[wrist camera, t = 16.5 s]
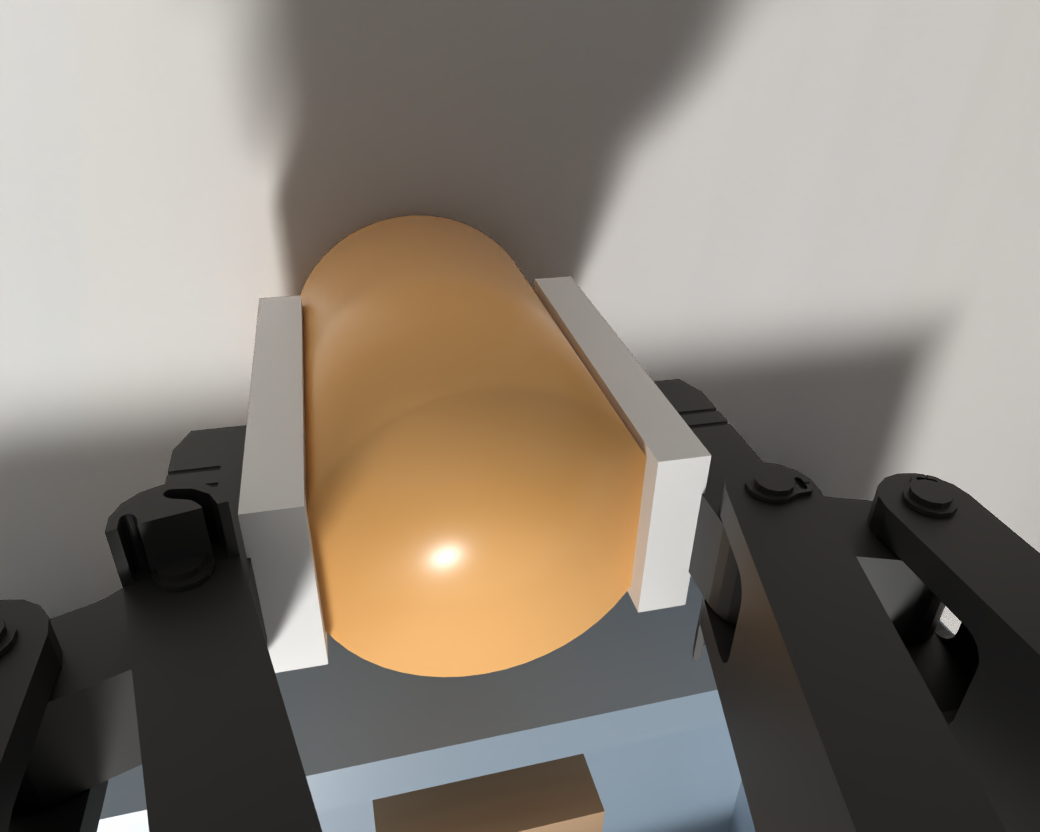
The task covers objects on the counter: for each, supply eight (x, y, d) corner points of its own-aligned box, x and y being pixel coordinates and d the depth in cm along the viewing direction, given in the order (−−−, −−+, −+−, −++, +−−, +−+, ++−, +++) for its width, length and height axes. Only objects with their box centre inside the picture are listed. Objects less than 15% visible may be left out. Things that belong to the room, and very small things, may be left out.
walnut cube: (359, 678, 21) (379, 864, 17) (542, 645, 22) (604, 811, 18) (372, 795, 23) (393, 981, 19) (536, 759, 24) (589, 927, 20)
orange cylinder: (279, 221, 15) (272, 408, 9) (537, 210, 16) (680, 368, 10) (308, 445, 17) (317, 702, 12) (529, 422, 19) (638, 646, 13)
